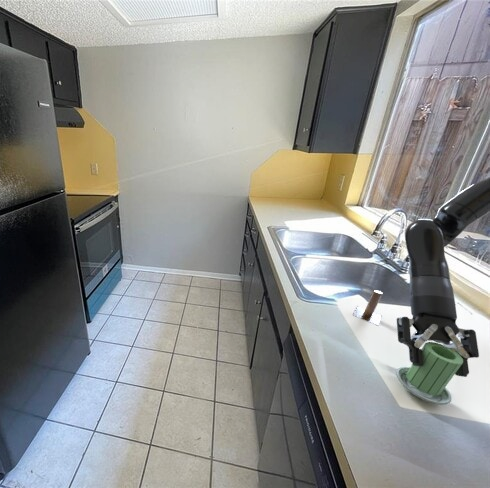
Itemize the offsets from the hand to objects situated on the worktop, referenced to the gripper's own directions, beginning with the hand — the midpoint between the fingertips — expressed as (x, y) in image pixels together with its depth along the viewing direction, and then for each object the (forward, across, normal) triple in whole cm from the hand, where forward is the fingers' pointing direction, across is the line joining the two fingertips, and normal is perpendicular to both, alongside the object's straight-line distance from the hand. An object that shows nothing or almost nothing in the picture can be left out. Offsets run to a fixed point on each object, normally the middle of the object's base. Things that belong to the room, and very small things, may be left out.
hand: (439, 370), depth 57 cm
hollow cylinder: (+3, 0, +5) cm, 6 cm away
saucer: (+5, 0, +7) cm, 9 cm away
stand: (-14, -2, +25) cm, 29 cm away
